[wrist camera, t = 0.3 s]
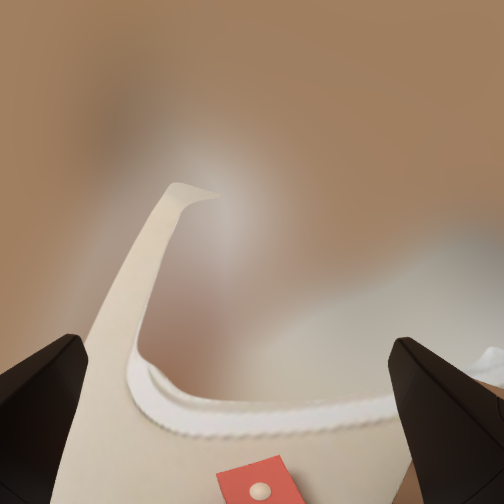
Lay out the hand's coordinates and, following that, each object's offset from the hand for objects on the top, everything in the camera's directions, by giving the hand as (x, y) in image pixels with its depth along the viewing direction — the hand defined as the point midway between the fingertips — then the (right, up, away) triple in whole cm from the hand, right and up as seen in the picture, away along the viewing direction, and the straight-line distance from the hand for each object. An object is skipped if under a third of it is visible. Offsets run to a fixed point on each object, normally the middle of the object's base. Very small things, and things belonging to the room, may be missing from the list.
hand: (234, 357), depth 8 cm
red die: (+1, -14, +8) cm, 16 cm away
